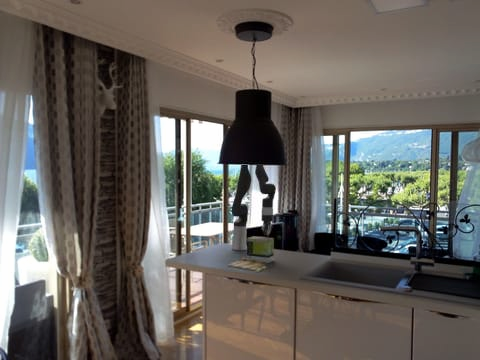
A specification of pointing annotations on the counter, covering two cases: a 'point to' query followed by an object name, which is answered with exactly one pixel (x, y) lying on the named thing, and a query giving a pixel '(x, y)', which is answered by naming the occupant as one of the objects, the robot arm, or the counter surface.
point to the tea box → (260, 249)
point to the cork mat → (248, 264)
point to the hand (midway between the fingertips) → (266, 240)
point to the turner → (262, 268)
